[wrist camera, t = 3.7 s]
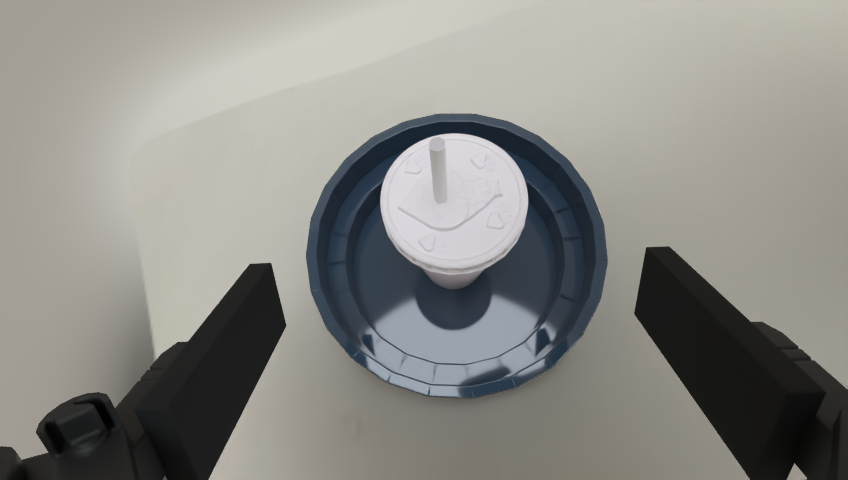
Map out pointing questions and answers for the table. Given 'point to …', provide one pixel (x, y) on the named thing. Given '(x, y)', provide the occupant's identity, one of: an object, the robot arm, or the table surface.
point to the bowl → (466, 307)
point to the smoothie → (454, 206)
